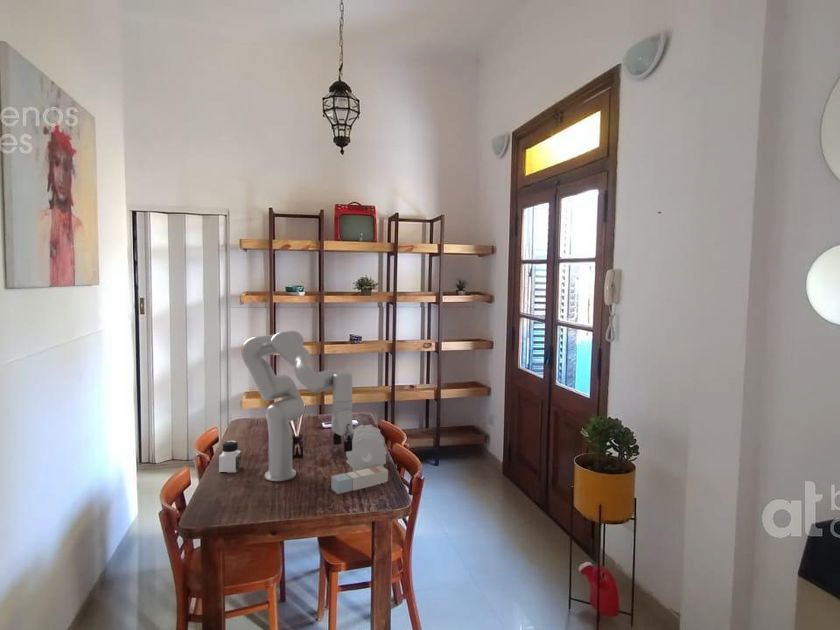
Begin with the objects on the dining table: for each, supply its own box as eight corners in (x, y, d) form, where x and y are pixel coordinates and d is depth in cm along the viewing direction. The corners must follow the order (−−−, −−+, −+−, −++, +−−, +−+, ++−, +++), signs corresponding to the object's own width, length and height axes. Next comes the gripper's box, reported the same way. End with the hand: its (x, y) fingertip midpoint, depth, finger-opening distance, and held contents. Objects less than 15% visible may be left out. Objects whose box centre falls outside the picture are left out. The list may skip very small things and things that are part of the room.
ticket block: (345, 485, 197) (346, 472, 197) (380, 477, 206) (380, 465, 206) (352, 490, 193) (352, 478, 192) (387, 482, 201) (388, 469, 201)
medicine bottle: (236, 472, 208) (235, 444, 208) (218, 472, 208) (218, 444, 207) (241, 466, 216) (241, 439, 215) (224, 466, 215) (224, 439, 214)
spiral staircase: (373, 466, 230) (377, 485, 205) (338, 451, 227) (338, 468, 202) (390, 430, 231) (396, 445, 206) (356, 415, 228) (358, 428, 203)
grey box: (331, 488, 194) (331, 475, 194) (345, 485, 197) (345, 472, 197) (337, 494, 189) (337, 481, 189) (351, 490, 192) (352, 477, 192)
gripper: (324, 401, 196) (324, 443, 197) (343, 410, 182) (343, 455, 183) (341, 398, 200) (341, 440, 201) (361, 407, 186) (361, 452, 187)
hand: (342, 447), depth 192 cm, fingers open, 9 cm apart
